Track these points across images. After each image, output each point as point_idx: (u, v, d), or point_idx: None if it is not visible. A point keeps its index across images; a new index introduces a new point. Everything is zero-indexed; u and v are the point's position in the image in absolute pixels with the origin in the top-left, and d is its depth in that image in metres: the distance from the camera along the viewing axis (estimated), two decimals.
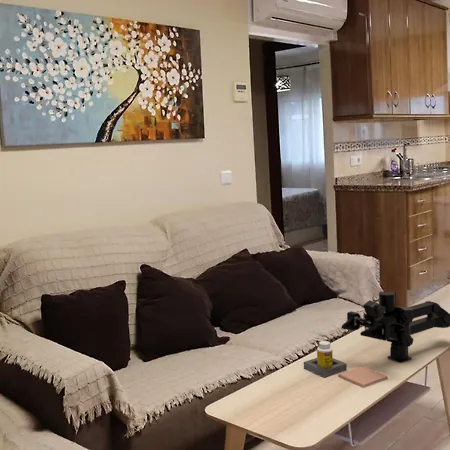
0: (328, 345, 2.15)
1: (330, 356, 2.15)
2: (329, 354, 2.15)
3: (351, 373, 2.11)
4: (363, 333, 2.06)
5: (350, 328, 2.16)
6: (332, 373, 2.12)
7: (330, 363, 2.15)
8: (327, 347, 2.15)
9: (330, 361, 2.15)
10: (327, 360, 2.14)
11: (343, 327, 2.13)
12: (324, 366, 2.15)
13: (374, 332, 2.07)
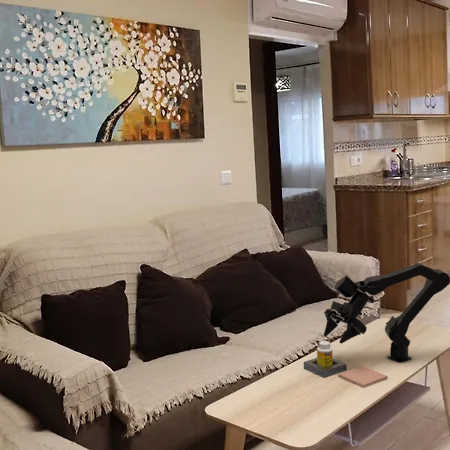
0: (328, 345, 2.15)
1: (330, 356, 2.15)
2: (329, 354, 2.15)
3: (351, 373, 2.11)
4: (342, 340, 2.14)
5: (333, 328, 2.24)
6: (332, 373, 2.12)
7: (330, 363, 2.15)
8: (327, 347, 2.15)
9: (330, 361, 2.15)
10: (327, 360, 2.14)
11: (325, 335, 2.22)
12: (324, 366, 2.15)
13: (351, 332, 2.15)
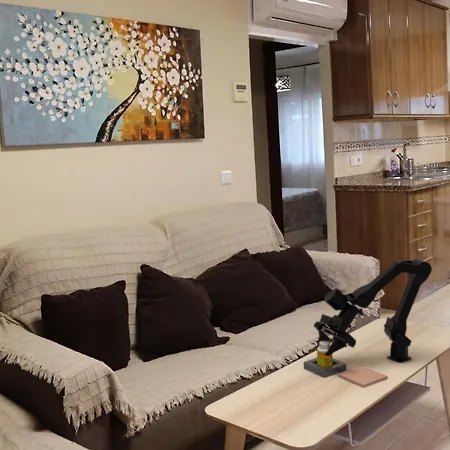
0: (328, 345, 2.15)
1: (330, 356, 2.15)
2: None
3: (351, 373, 2.11)
4: (328, 353, 2.13)
5: None
6: (332, 373, 2.12)
7: (330, 363, 2.15)
8: (327, 347, 2.15)
9: (330, 361, 2.15)
10: (327, 360, 2.14)
11: None
12: (324, 366, 2.15)
13: (338, 344, 2.14)
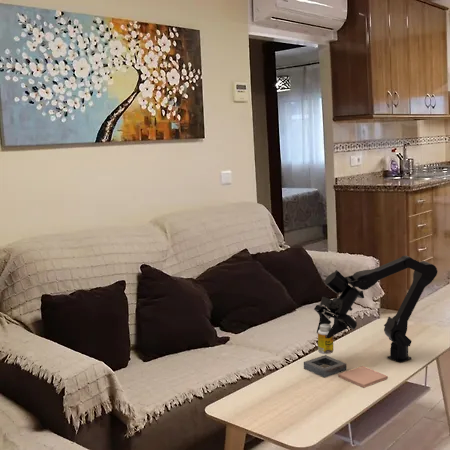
0: (329, 327, 2.14)
1: (331, 339, 2.14)
2: None
3: (351, 373, 2.11)
4: (329, 335, 2.12)
5: None
6: (332, 373, 2.12)
7: (331, 346, 2.14)
8: (328, 329, 2.14)
9: (331, 344, 2.14)
10: (328, 342, 2.13)
11: None
12: (325, 349, 2.14)
13: (338, 326, 2.13)
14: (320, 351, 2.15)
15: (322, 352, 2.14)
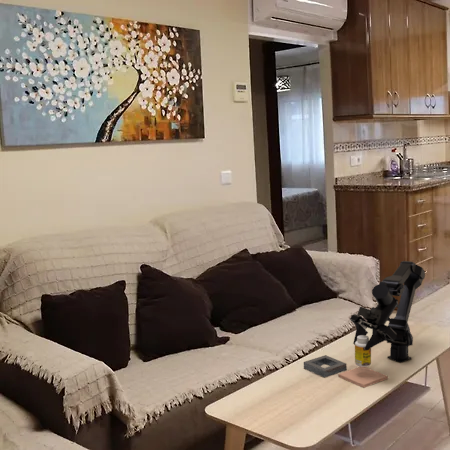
0: (367, 339, 2.05)
1: (369, 351, 2.05)
2: (368, 349, 2.05)
3: (351, 373, 2.11)
4: (367, 347, 2.04)
5: None
6: (332, 373, 2.12)
7: (369, 358, 2.06)
8: (366, 341, 2.05)
9: (369, 356, 2.06)
10: (366, 355, 2.05)
11: None
12: (363, 361, 2.05)
13: (377, 338, 2.05)
14: (357, 364, 2.07)
15: (359, 365, 2.06)
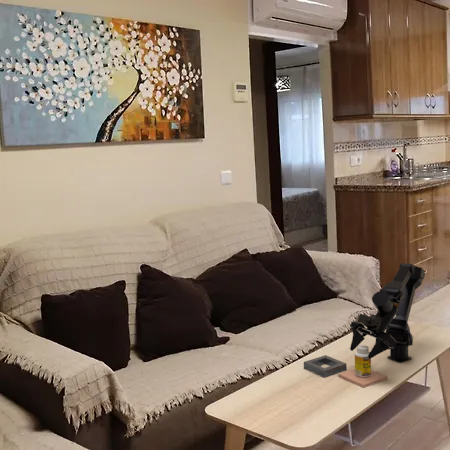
0: (367, 350, 2.06)
1: (369, 361, 2.06)
2: (368, 359, 2.06)
3: (351, 373, 2.11)
4: (370, 355, 2.03)
5: (359, 342, 2.13)
6: (332, 373, 2.12)
7: (369, 368, 2.06)
8: (366, 352, 2.06)
9: (369, 366, 2.06)
10: (366, 365, 2.06)
11: (352, 349, 2.11)
12: (363, 371, 2.06)
13: (380, 346, 2.03)
14: (357, 374, 2.07)
15: (359, 375, 2.07)
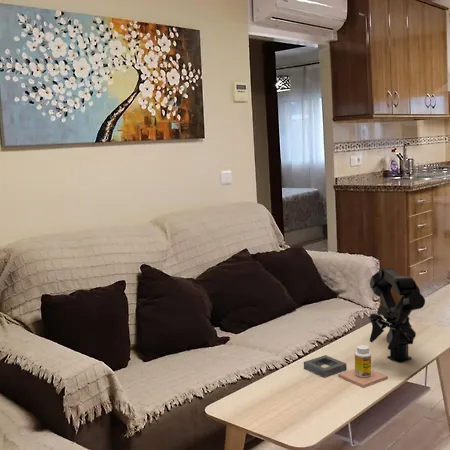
0: (367, 350, 2.06)
1: (369, 361, 2.06)
2: (368, 359, 2.06)
3: (351, 373, 2.11)
4: (390, 347, 2.07)
5: (379, 334, 2.17)
6: (332, 373, 2.12)
7: (369, 368, 2.06)
8: (366, 352, 2.06)
9: (369, 366, 2.06)
10: (366, 365, 2.06)
11: (372, 340, 2.15)
12: (363, 371, 2.06)
13: (400, 337, 2.08)
14: (357, 374, 2.07)
15: (359, 375, 2.07)
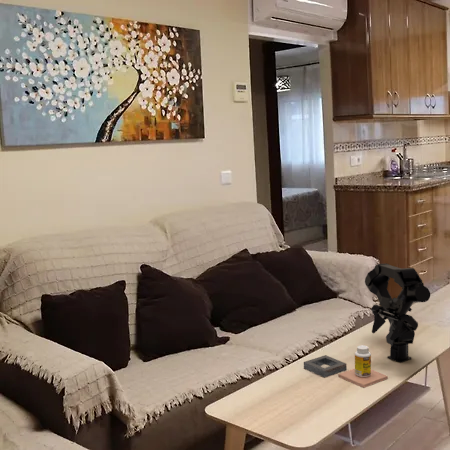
0: (367, 350, 2.06)
1: (369, 361, 2.06)
2: (368, 359, 2.06)
3: (351, 373, 2.11)
4: (392, 337, 2.07)
5: (380, 325, 2.17)
6: (332, 373, 2.12)
7: (369, 368, 2.06)
8: (366, 352, 2.06)
9: (369, 366, 2.06)
10: (366, 365, 2.06)
11: (374, 331, 2.15)
12: (363, 371, 2.06)
13: (402, 328, 2.07)
14: (357, 374, 2.07)
15: (359, 375, 2.07)
